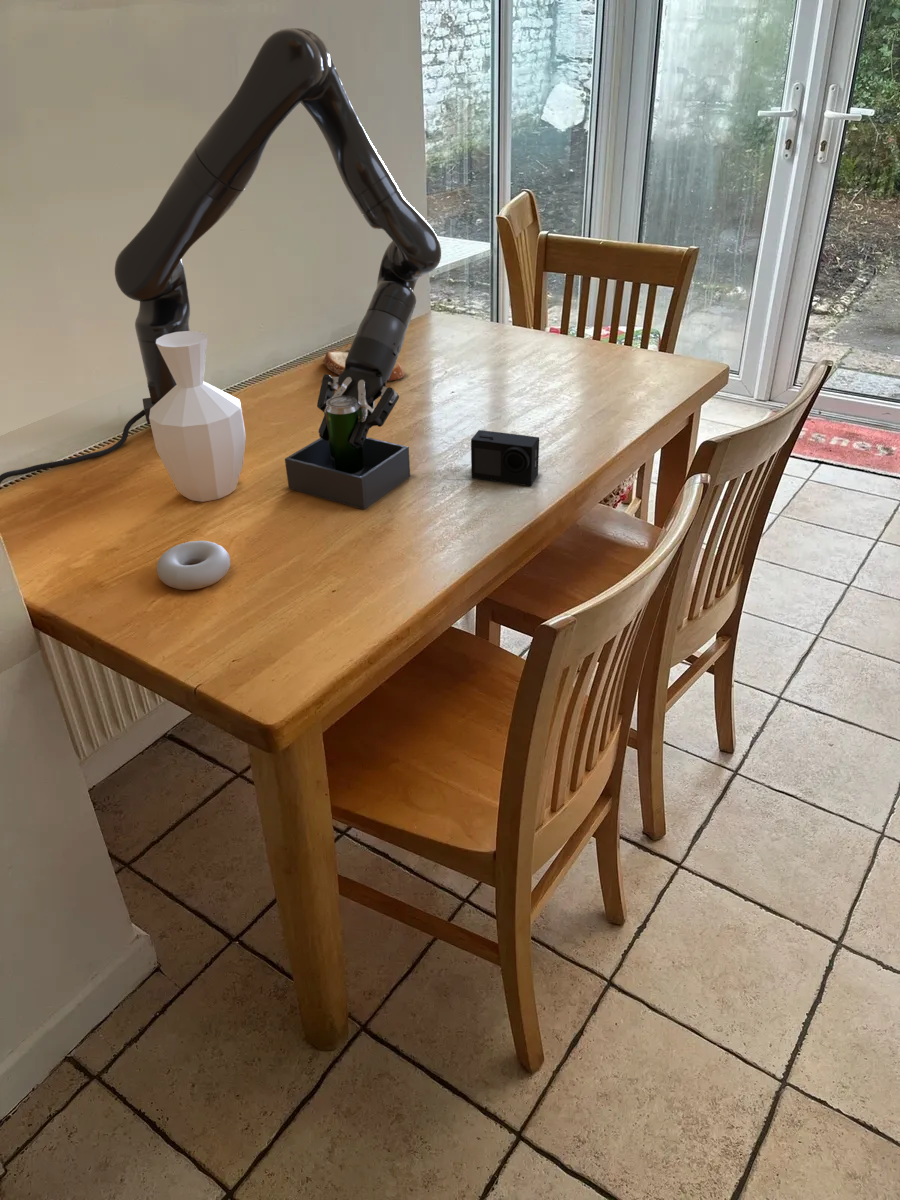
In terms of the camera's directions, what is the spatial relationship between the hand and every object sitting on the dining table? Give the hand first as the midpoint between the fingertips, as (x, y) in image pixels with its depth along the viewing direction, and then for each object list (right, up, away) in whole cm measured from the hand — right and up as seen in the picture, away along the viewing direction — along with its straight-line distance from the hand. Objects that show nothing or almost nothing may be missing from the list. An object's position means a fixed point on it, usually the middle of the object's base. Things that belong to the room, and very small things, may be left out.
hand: (338, 442), depth 142 cm
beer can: (+1, -4, +5) cm, 6 cm away
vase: (-22, -7, +5) cm, 23 cm away
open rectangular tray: (+1, -6, +5) cm, 8 cm away
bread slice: (-1, +25, +51) cm, 57 cm away
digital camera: (+26, -5, +5) cm, 28 cm away
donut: (-18, -22, -17) cm, 33 cm away
